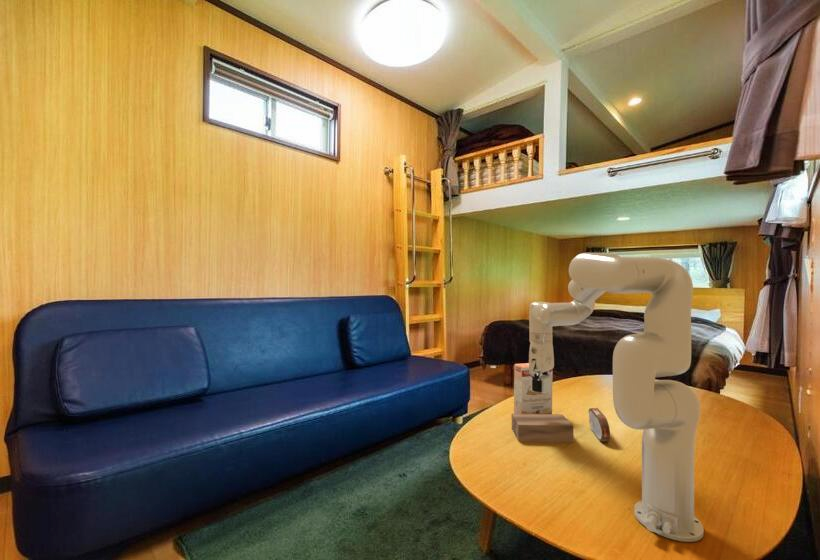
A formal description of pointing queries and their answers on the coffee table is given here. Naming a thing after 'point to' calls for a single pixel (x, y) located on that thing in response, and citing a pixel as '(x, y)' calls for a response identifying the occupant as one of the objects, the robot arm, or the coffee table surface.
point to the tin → (599, 424)
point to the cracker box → (529, 393)
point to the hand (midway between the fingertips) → (540, 389)
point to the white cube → (544, 383)
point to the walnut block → (542, 428)
